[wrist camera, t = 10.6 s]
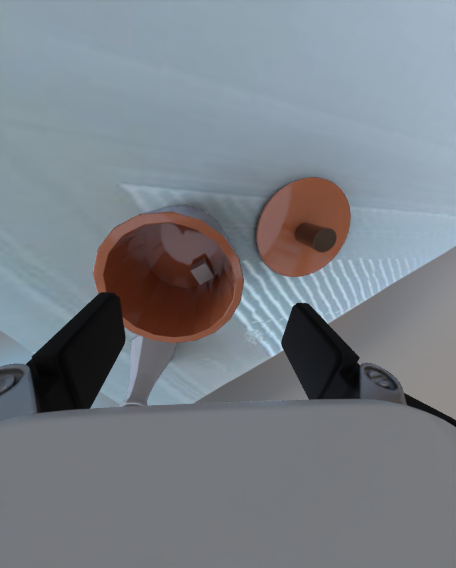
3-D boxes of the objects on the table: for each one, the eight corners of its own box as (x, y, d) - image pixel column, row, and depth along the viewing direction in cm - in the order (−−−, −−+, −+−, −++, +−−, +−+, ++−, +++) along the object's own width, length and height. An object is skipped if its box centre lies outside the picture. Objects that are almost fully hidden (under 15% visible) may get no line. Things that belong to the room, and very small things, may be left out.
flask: (141, 323, 28) (111, 384, 19) (183, 340, 30) (174, 401, 21) (123, 354, 30) (89, 421, 21) (164, 368, 33) (149, 433, 24)
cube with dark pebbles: (205, 257, 24) (214, 272, 25) (191, 264, 24) (201, 279, 25) (205, 262, 22) (215, 279, 23) (190, 270, 22) (200, 286, 24)
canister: (166, 182, 20) (133, 171, 11) (245, 241, 24) (271, 270, 15) (123, 263, 24) (70, 307, 14) (199, 303, 28) (196, 358, 18)
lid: (301, 152, 21) (334, 138, 15) (361, 219, 25) (403, 226, 20) (235, 242, 24) (244, 255, 19) (298, 287, 28) (319, 308, 23)
